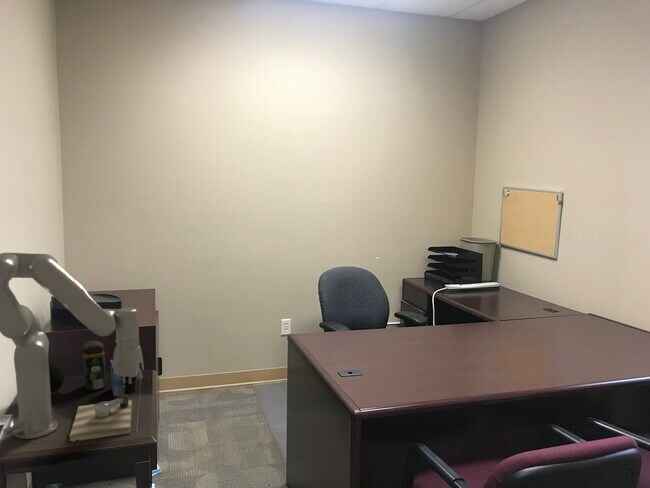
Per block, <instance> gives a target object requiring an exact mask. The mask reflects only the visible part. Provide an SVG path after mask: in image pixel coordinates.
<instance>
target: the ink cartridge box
mask: <svg viewBox="0 0 650 488" xmlns="http://www.w3.org/2000/svg"><path fill="white" fill-rule="evenodd" d="M112 357H114V355H113V356H112ZM109 365H110V377H111V389H112V394H113V397H115V398H116V397H119V386H122V385H125V383H123V379H122V378H121V377H119V376H117V375H116V374H114V371H113V359H110V360H109Z"/></svg>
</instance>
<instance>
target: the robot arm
mask: <svg viewBox="0 0 650 488" xmlns="http://www.w3.org/2000/svg"><path fill="white" fill-rule="evenodd" d="M13 278H15V279H19V278H20V279H32V280H34V281H35V282H36V283H37V284H39V286H41V288H43V290H45V291H47V292H48V293H49V294H50V295H51V296H52V297H54V298H55V299H56V300H57V301H58V302H59V303H60V304H62V306H63V307H64V308H65V309H66V310H67V311H69V312H70V313H71V314H72V315H73V316H74V317H75V318H76V319H77V320H79V322H80V323H81V324H83V326H85V327H87V329H89V331H91V332H92V333H94V334H95V335H96V336H99V337H107V336H109V335H112V334H113V333H114V331H115V337H116V338H115V340H114V342H115V343H116V346H115V347H114V352H113V356H114V357H113V356H112V357H113V371H114V374H116V375H117V376H119V377H121V378H122V379H123V383H125V394H128V396H130V395H132V394H135V393H136V382H137V380H141V379H143V378H144V376H143V373H144V370H145V369H144V368H145V367H144V359H143V358H144V357H143V352H142V348H141V345H140V331H139V330H140V329H139V328H140V327H139V313H138V309H136V308H134V307H122V308H118V309H117V308H102V307H101V306H100V305H99V304H98V303H97V302H96V301H95V300H93V298H92V297H91V296H90V295H89V293H88V292H87V290H86V288H85V287H84V286H83V284H81V283H80V282H79V281H78V280H77V279H76V278H75V277H73V276H72V275H71V274H70V273H69V272H67V270H65V269H64V268H63V267H62V266H61V265H60V264H59V263H58V260H57V259H56V258H55V257H54V256H52V255H50V254H47V253H28V252H27V253H26V252H25V253H23V252H1V253H0V333H1V335H2V336H3V337H5V338H7V339H10V340H12V342H13V344H14V345H15V350H14V351H13V352H14V353H13V364H14V371H15V381H16V392H17V394H16V396H17V409H18V420H16V421H15V423H14V424H13V425H12V426H9V427H6V428H3V430H2V431H3V432H2V433H3V435H4V436H7V435H10V434H11V435H13V436H14V437H16V438H18V439H22V440H26V439H27V440H29V439H31V440H32V439H37V438H41V437H44V436H47V435H50V434H51V433H53V432H55V431H56V429H58V427H59V426H58V421H57V420H55V419H53V413H52V411H53V410H52V404H51V393H50V378H49V364H48V361H49V351H50V350H49V348H50V341H49V337H48V336H47V334H46V332H45V330H44V329H43V328H42V326H41V324H40V322H39V321H38V319H37V317H36V316H35V314H34V313H33V311H32V310H31V309H30V308H29V307H27V306H25V305H23V304H20V303H19V301H18V299H17V297H16V295H15V294H14V292H13V291H12V289H11V288H10V285H9V284H10V281H11V280H12V279H13Z"/></svg>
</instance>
